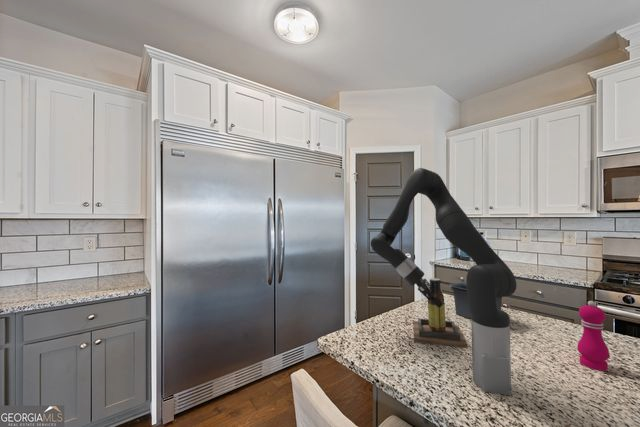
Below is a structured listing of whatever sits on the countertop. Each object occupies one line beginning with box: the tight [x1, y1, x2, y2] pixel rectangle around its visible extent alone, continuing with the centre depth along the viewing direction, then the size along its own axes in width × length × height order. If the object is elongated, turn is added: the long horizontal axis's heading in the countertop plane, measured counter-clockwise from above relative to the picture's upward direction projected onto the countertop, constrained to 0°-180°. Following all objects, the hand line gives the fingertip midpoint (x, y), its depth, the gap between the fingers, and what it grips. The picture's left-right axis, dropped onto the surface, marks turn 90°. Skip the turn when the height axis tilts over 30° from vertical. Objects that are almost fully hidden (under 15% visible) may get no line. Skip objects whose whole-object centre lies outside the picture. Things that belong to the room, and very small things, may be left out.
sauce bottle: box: [427, 277, 447, 332], centre depth 111 cm, size 6×6×20 cm
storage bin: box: [449, 281, 503, 319], centre depth 129 cm, size 21×16×14 cm
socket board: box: [412, 318, 468, 349], centre depth 110 cm, size 18×18×4 cm
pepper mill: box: [576, 300, 610, 371], centre depth 87 cm, size 7×7×20 cm
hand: (441, 303), depth 110 cm, fingers closed on sauce bottle, 6 cm apart
